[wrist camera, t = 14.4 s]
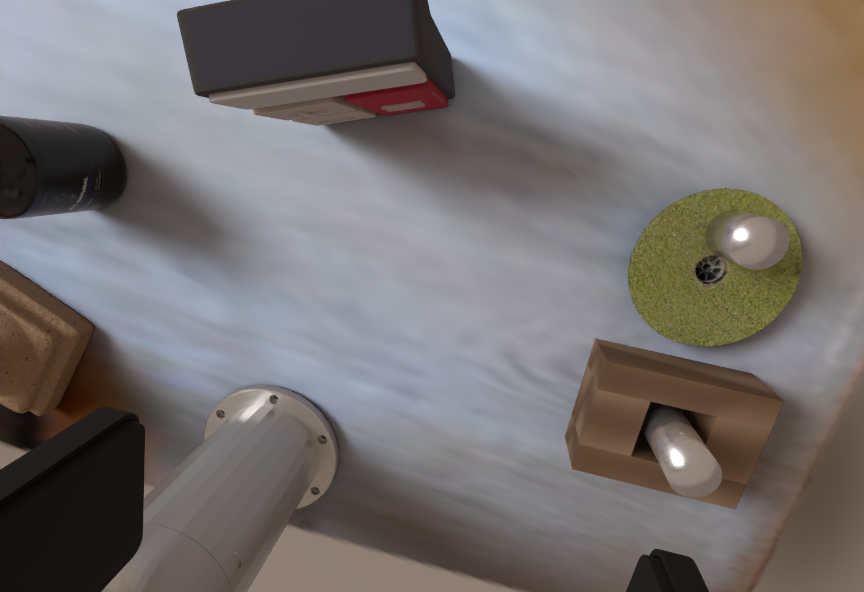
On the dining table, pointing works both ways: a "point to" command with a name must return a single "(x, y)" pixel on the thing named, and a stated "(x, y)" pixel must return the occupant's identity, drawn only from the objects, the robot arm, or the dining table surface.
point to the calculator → (318, 58)
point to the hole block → (674, 386)
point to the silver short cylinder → (747, 239)
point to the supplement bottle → (56, 168)
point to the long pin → (680, 451)
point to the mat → (708, 273)
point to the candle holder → (37, 344)
